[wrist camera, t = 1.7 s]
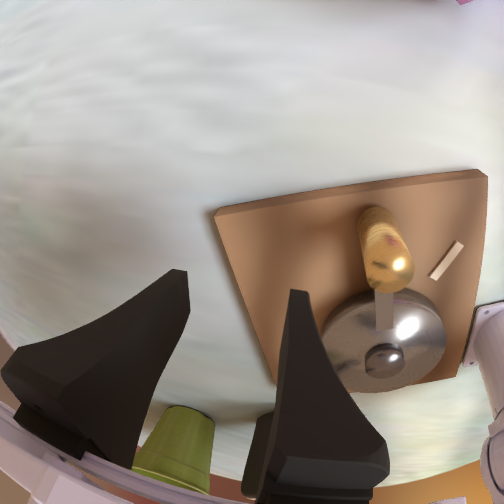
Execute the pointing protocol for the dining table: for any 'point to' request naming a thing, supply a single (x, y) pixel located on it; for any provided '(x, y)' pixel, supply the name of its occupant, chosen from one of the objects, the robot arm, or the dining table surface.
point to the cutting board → (359, 251)
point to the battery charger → (256, 457)
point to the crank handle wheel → (384, 317)
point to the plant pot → (178, 450)
